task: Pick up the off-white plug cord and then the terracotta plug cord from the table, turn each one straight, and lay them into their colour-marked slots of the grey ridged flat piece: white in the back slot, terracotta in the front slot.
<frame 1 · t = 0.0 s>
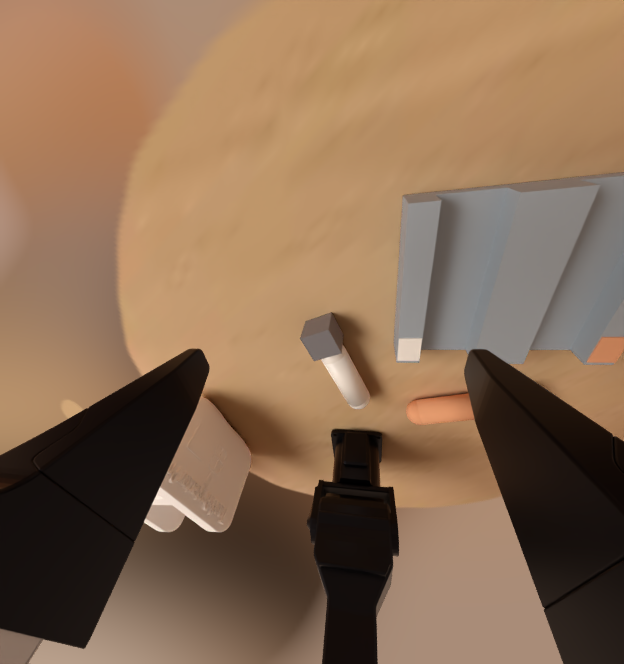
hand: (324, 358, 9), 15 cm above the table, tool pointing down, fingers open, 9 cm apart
orange cord: (458, 397, 29), on the table
white cord: (343, 361, 29), on the table
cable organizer: (206, 424, 40), on the table
grey ridged flat piece: (505, 276, 21), on the table
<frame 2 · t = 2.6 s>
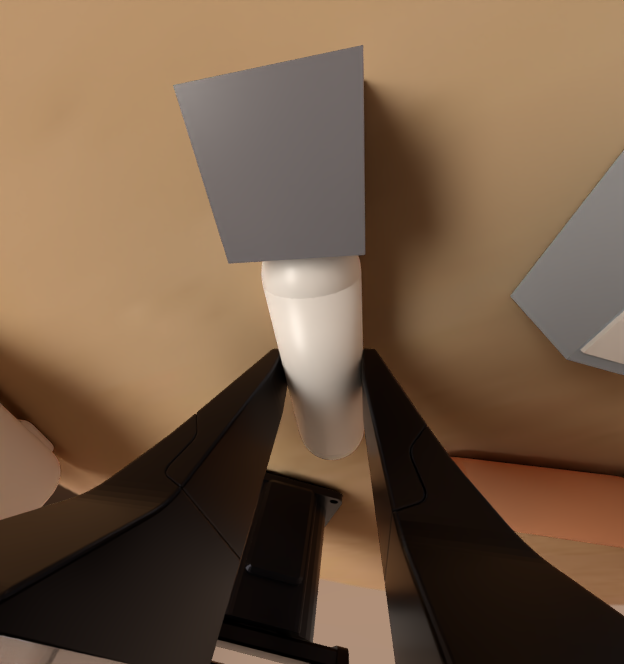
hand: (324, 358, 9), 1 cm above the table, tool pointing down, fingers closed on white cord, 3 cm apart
orange cord: (547, 472, 13), on the table
white cord: (325, 317, 9), on the table, touching gripper
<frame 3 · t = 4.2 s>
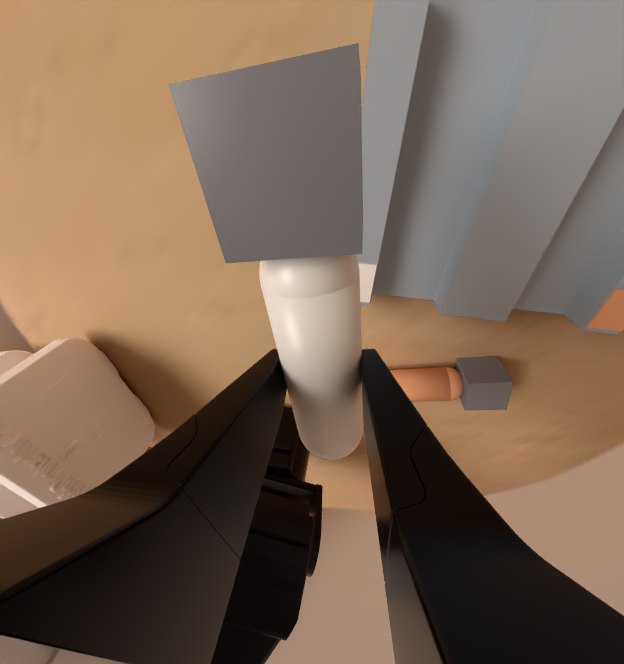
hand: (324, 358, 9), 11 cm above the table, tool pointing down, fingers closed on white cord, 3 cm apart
orange cord: (414, 373, 23), on the table
white cord: (323, 317, 9), point 10 cm above the table, touching gripper
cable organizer: (98, 382, 31), on the table
grey ridged flat piece: (501, 190, 15), on the table
when the fingers open (4 cm above the table, at t = 5.9 s): white cord drops 2 cm, resting on grey ridged flat piece.
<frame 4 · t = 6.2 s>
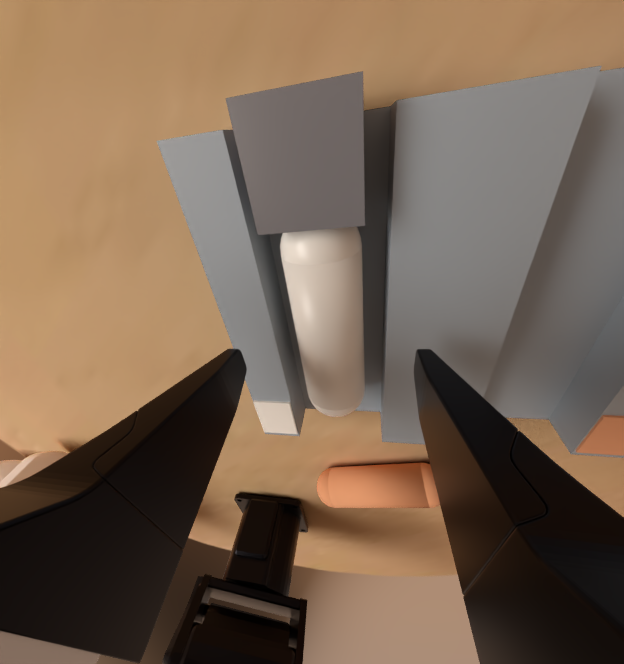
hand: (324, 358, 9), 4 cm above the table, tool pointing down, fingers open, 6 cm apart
orange cord: (390, 466, 20), on the table
white cord: (330, 291, 11), point 1 cm above the table, touching grey ridged flat piece
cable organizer: (87, 476, 31), on the table
grey ridged flat piece: (428, 296, 12), on the table
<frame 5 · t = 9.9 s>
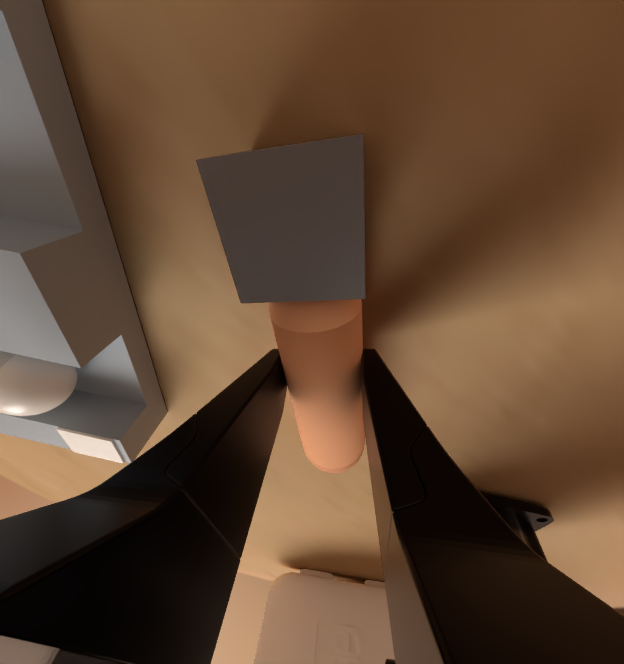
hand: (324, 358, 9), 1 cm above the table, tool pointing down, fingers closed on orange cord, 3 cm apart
orange cord: (327, 339, 10), on the table, touching gripper
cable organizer: (348, 584, 30), on the table
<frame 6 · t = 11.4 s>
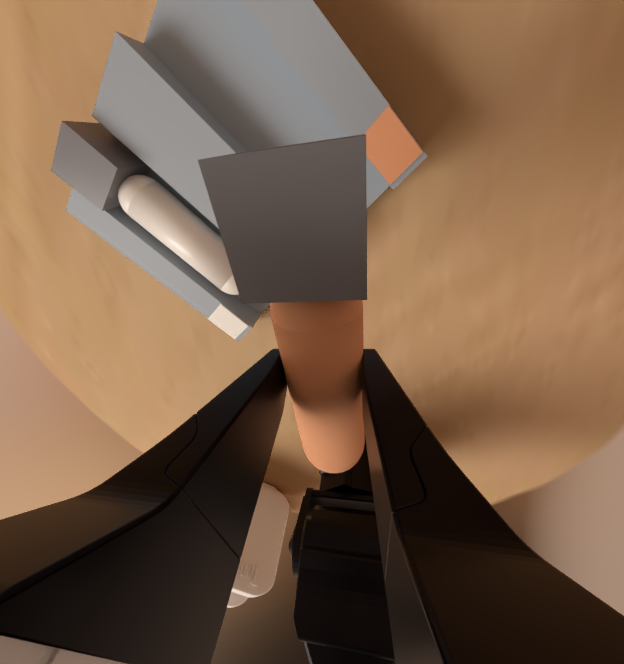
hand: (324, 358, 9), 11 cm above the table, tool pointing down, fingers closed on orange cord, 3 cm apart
orange cord: (327, 339, 10), point 10 cm above the table, touching gripper
white cord: (188, 222, 18), point 1 cm above the table, touching grey ridged flat piece
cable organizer: (236, 483, 41), on the table
grey ridged flat piece: (239, 181, 17), on the table
when the fingers open (4 cm above the table, at t = 13.2 s): orange cord drops 2 cm, resting on grey ridged flat piece.
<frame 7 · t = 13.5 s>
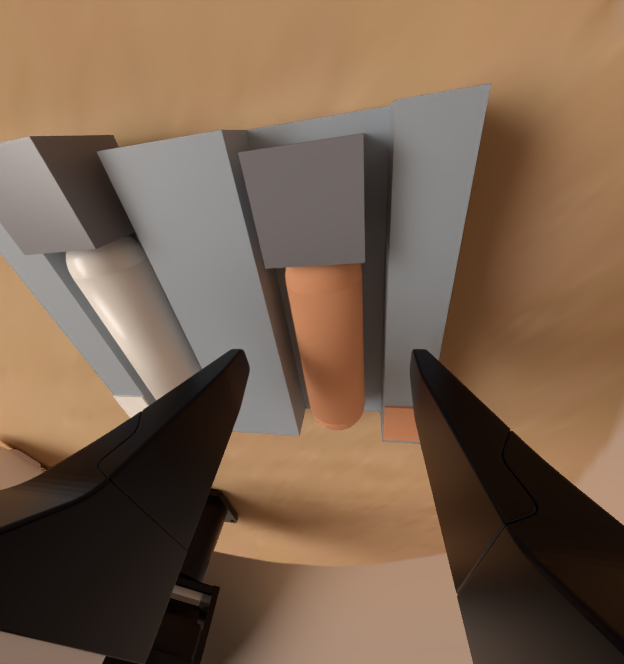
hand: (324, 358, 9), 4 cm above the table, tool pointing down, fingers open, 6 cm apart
orange cord: (332, 311, 12), point 1 cm above the table, touching grey ridged flat piece
white cord: (158, 298, 13), point 1 cm above the table, touching grey ridged flat piece
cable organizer: (33, 470, 33), on the table
grey ridged flat piece: (252, 302, 13), on the table
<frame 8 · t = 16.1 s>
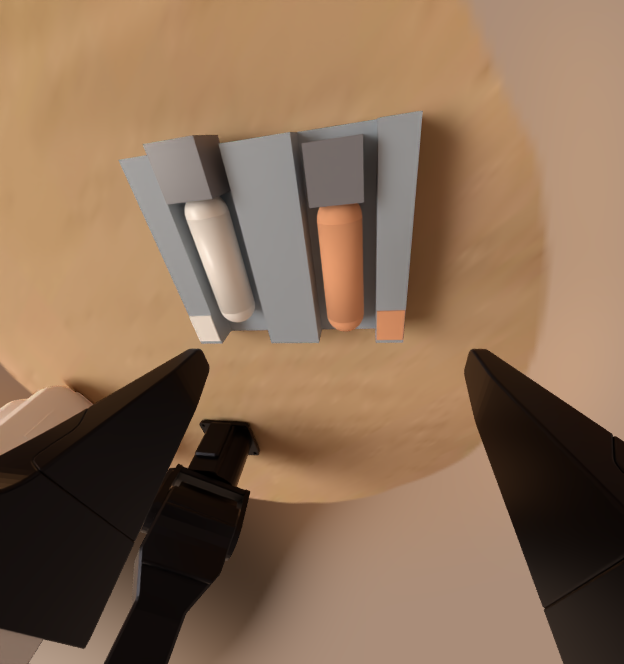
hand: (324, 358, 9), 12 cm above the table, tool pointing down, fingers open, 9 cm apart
orange cord: (343, 248, 18), point 1 cm above the table, touching grey ridged flat piece
white cord: (227, 243, 19), point 1 cm above the table, touching grey ridged flat piece
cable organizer: (86, 416, 39), on the table
grey ridged flat piece: (288, 247, 20), on the table
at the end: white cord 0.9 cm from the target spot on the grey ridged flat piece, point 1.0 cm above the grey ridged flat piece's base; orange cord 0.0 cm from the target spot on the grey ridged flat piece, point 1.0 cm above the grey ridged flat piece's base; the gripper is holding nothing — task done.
